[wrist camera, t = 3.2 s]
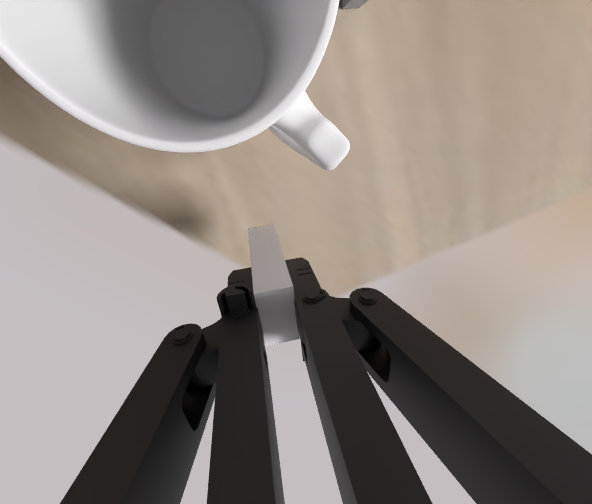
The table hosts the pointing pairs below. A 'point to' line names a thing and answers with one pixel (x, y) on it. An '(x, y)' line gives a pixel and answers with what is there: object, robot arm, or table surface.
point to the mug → (179, 69)
